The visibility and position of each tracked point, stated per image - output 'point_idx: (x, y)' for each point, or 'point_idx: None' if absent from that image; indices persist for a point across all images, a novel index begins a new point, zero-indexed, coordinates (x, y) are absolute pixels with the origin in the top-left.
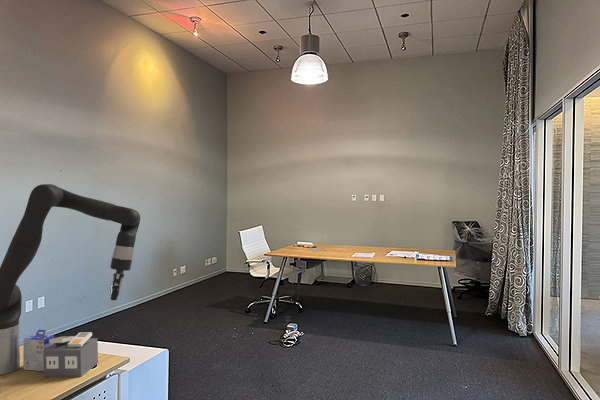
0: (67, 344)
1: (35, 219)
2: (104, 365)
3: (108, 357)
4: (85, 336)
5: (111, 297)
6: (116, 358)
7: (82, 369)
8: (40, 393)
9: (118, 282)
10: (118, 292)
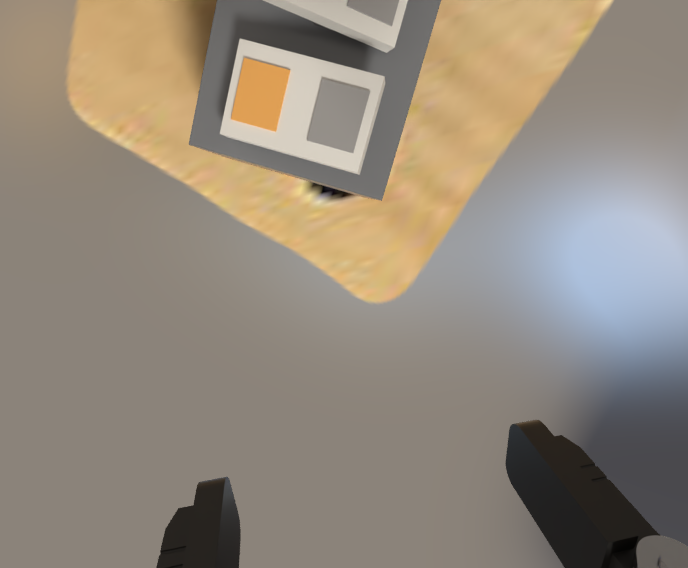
0: (317, 26)
1: None
2: (328, 232)
3: (419, 230)
4: (308, 140)
5: (196, 512)
6: (394, 269)
7: (231, 158)
8: (85, 16)
9: None
10: (541, 522)
